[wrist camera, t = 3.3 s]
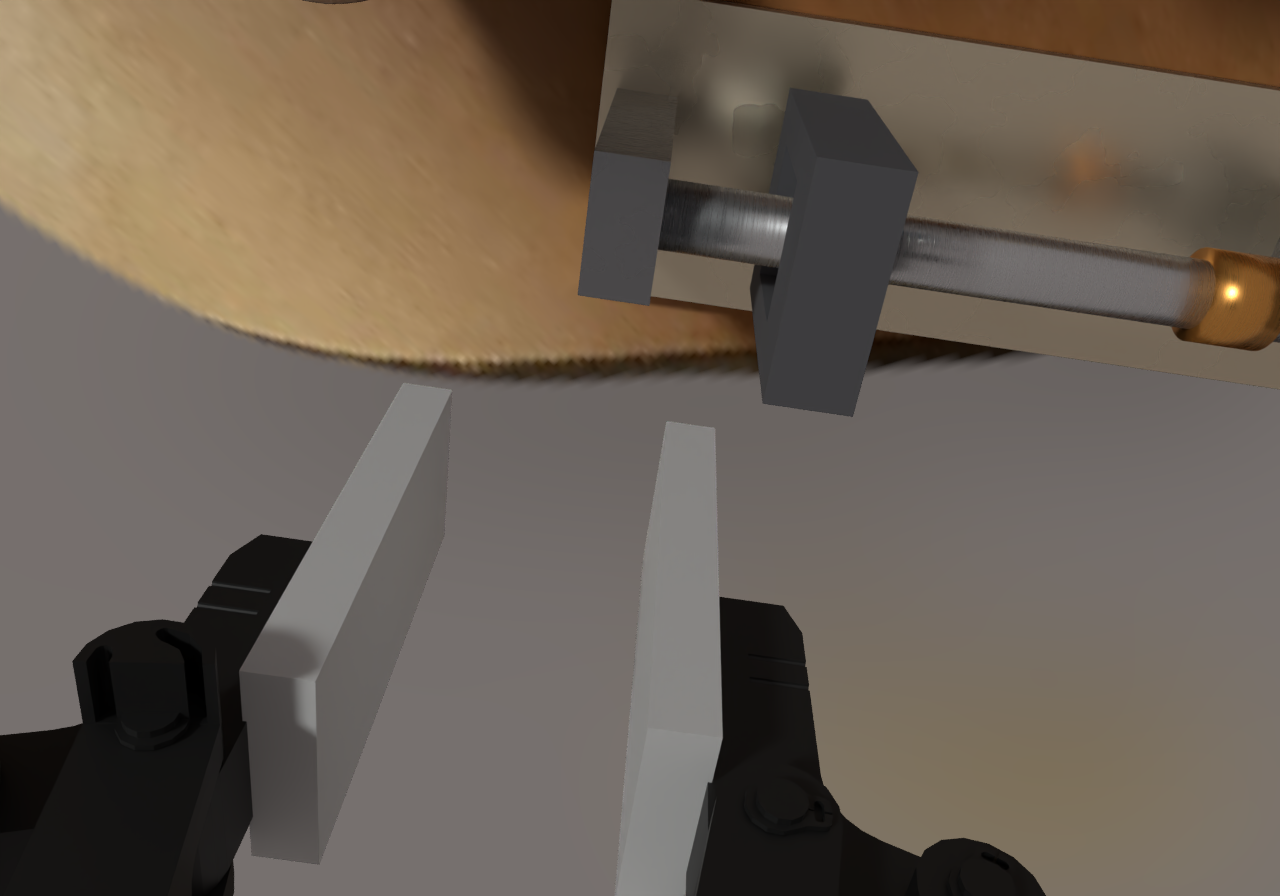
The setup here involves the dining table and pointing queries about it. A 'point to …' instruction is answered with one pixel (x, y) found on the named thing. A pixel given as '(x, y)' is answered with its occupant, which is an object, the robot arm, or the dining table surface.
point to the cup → (334, 1)
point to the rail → (952, 185)
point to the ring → (829, 251)
